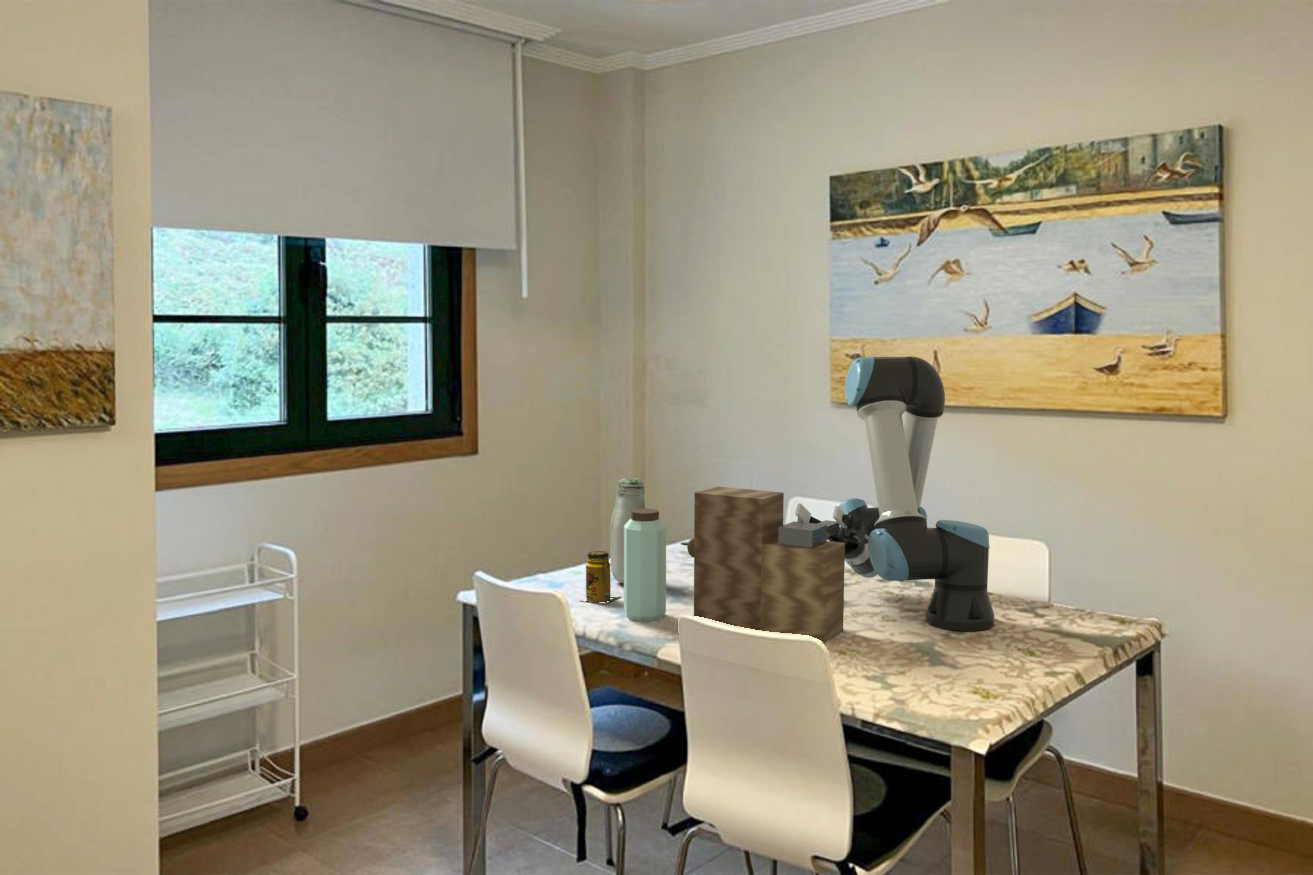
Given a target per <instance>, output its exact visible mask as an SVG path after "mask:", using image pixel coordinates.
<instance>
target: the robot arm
mask: <svg viewBox="0 0 1313 875" xmlns="http://www.w3.org/2000/svg"><path fill="white" fill-rule="evenodd" d="M844 398H845V401H846V403H847V405H848V406H851V407H852V408H853V407H855V408H856V413H857V417H858V418H860V419H862V420H863V421H864V423H865V430H866V436H867V443H868V449H869V455H870V456H869V457H870V461H871V468H872V475H873V482H874V489H875V494H876V501H877V507H868V505H867V503H866V501H865V500H864V499H862V498H859V497H853V498H847V499H846V500H844V501H842V502H841V503H840V504H839V506H838V505H835V506H834V510H833V514H832V518H833V520H834V521H837V522H838V523H839V524H840V532H839V533H837V534H834V535H832V536H830V537H827V541H832V542H841V543H845V562H846V564H847V565H848V566H849V567H850V568H851V569H852V570H853V571H854V572H855V573H856V574H858V575H860V576H861V577H863V578H867V579H870V578H874V577H876V576H877V575H878V577H880V578H881V579H883V580H884V581H888V582H889V581H891V582H892V581H893V582H900V583H901V582H902V583H903V582H905V581H906V582H907V581H919V580H920V581H922V580H934V589H933V591H932V593H931V596H930V599H929V603H928V605H927V607H926V610H925V611H926V612H925V622H927V623H928V624H930V625H931V626H934V627H936V628H941V629H946V630H950V631H951V630H952V631H960V632H961V631H962V632H976V631H977V632H978V631H986V630H989V629H992V628H993V627H994V626H995V613H994V610H993V606H992V603H991V599H990V596H989V593H988V581H989V580H988V578H989V559H990V558H989V557H990V556H989V554H990V547H991V546H990V537H989V532H988V530H987V529H986V528H985V527H983V526H981V525H977V524H975V523H970V522H965V521H958V520H952V519H938V520H937V521H936V523H935V527H928V521H927V520H928V515H927V512H926V509H925V508H923V507H922V506H921V503H922V498H923V493H924V488H925V483H926V479H927V473H928V468H929V463H930V459H931V453H932V448H933V443H934V438H935V434H936V427H937V423H938V419H939V418H941V417H943V415H944V410H945V405H946V393H945V387H944V383H943V380H942V378H941V376H940V374H939V372H938V371H937V370H936V368H935V367H934V366H933V365H932V364H931V363H930V362H928V361H927V360H925V359H923V358H921V357H916V356H874V355H871V356H863V357H857V358H856V359H854V360H853V361H852V362H851V363H850V365H849V367H848V371H847V373H846V377H845V383H844ZM904 413H906V414H905V419H904V422H903V417H902V416H903V414H904ZM794 515H795V516H796V517H797V521H796V522H804V523H814V524H817V523H820V522H822V521H823V520H822V521H821V520H820V519H818V518H815V517H813V516H812V513H811V512H810V511H809V510H808V509H807V508H806V507H805V505H803V504H802V503H798V502H797V505H796V508H795V513H794Z"/></svg>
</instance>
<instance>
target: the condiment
mask: <svg viewBox="0 0 1313 875" xmlns="http://www.w3.org/2000/svg"><path fill="white" fill-rule="evenodd" d="M609 556H610V554H609V552H607V551H604V550H593V551H592V550H591V551H589V552H588V553H587V556H586V558H587V559H586V561H587V562H586V565H585V598H587V599H586V600H587V601H589V602H595V603H594V604H600V605H606V604H609V603H608V602H607V601H611V602H614V601H615V600H617V599H619V598H621V597H622V595H617V596H618V597H610V596H612V595H611V562H610V558H609ZM610 598H613V599H612V600H610ZM580 602H585V603H587V602H586V601H583V599H581V600H580ZM589 602H588V603H589ZM599 602H605V603H599Z"/></svg>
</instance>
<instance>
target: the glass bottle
mask: <svg viewBox="0 0 1313 875" xmlns="http://www.w3.org/2000/svg"><path fill="white" fill-rule="evenodd" d="M615 492H616V499H615V502H614V508H613V511H612V514H611V520H610V522H609V523H610V524H609V525H610V530H609V532H610V539H609V540H610V542H609V543H610V573H611V575H612V576H613V578H614V580H615V581H617V582H618V583H621V584H624V525H625V524H626V523H627V522H628V521H629V520H630V518H631V510H635V509H647V508H646V505H645V486H644V483H643V481H642V480H641V479H639V478H638V477H624V478H622V479H620V480H619V481H618V482H617V484H616V491H615Z"/></svg>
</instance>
